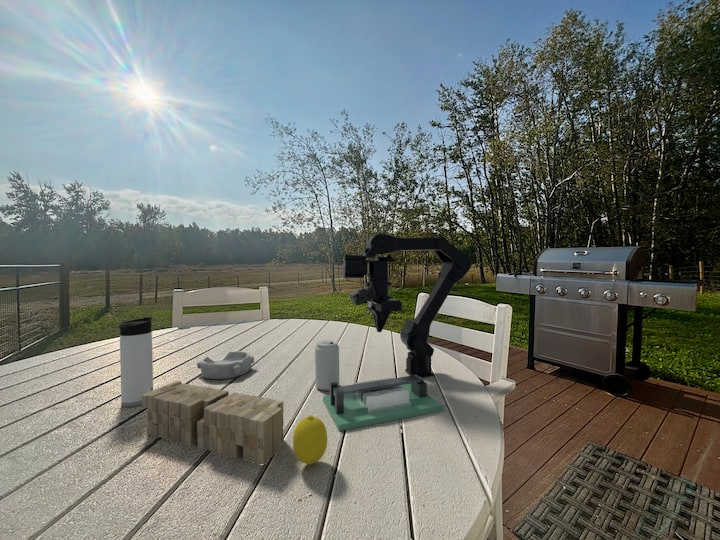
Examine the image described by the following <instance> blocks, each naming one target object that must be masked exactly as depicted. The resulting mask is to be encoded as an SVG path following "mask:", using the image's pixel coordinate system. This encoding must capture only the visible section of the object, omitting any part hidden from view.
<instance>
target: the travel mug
mask: <svg viewBox="0 0 720 540" xmlns="http://www.w3.org/2000/svg"><path fill="white" fill-rule="evenodd" d="M152 321H153V319H152V316H151V317H150V316H145V317H142V318H135V319H130V320H126V321H123V322H122V323H120V324H119V354H120V355H119V356H120V357H119V358H120V359H119V362H120V366H119V367H120V397H121V399H120V403H121V406H122V407H124V408H134V407H139V406H142V395H143V394H146V393H148V392H151V391H153V390H154V374H153V373H154V372H153V371H154V368H153V366H154V365H153V363H154V362H153V358H154V357H153V330H152V326H153V325H152Z"/></svg>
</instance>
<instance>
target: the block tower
mask: <svg viewBox="0 0 720 540" xmlns="http://www.w3.org/2000/svg"><path fill="white" fill-rule="evenodd" d="M229 392H230V391H229V390H226V389H225V390H224V389H223V390H222V389H219V388H218V389H217V388H213V387H211V386H201V385H194V384H188V383H183V382H182V381H180V380H175V381H173V382H170V383H168V384H166V385H163V386H161V387H158V388H156V389H153V391H151V392H148V393H146V394H143V395H142V405H141V407H142V408H144V409H147V413H146V417H147V419H146V421H147V422H146V434H148V435H151V436H152V437H155V438H160V439H164V440H167V441H168V440H169V441H173V442H177V443H181V444H184V445H186V446H189V447H192V446H193V445H195V444H196V443H197V448H198V449H202V450H207V451H210V452H213V453H217V452H218V454H220V453H222V454H221V455H223V454H225V455H224V456H227V455H229V456H228V457H230V456H232V457H231V458H233V457H236V456H238V455H239V454H240V455H241V454H242V460H243V459H244V460H246V461H245V462H248V461H251V462H250V463H252V462H254V463H253V464H256V463H257V464H265V463H266V462H267V461H268V460H269V461H271V460H270V458H272V459H273V456H272V455H275V454H276V453H277V452H278V451H279V452H280V451H281V450H282V449H281V448H282V445H283V443H282V441H284V408H285V407H284V401H283V400H279V399H277V400H276V399H273V398H270V397H263V396H257V395H251V394H245V393H239V392H233V393H231V394H230V393H229ZM280 449H281V450H280ZM242 452H243V453H242ZM279 452H278V453H279ZM278 453H277V454H278ZM277 454H276V455H277ZM240 455H239V456H240ZM276 455H275V456H276ZM239 456H238V457H239ZM236 458H237V457H236ZM244 460H243V461H244ZM269 461H268V462H269ZM268 462H267V463H268ZM267 463H266V464H267ZM257 464H256V465H257ZM266 464H265V465H266Z"/></svg>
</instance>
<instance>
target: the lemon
mask: <svg viewBox="0 0 720 540" xmlns="http://www.w3.org/2000/svg"><path fill="white" fill-rule="evenodd" d="M292 446H293V447H292V448H293V452H294V454H295V456H296V458H297V459H298V460H299V461H300V462H301V463H303V464H306V465H309V466H312V465H313V464H315V463H317V462H319V461H320V460H321V459H322V458H323V456H324V455H325V453H326V451H327V447H328V432H327V429H326V426H325V424H324V422H323V421H322V420H321V419H320V418H318V417H317V416H313V415H311V414H309V415H308V416H305V417H304V418H302V419H301V420H299V422H298V423H297V425H296V426H295V430H294V431H293V436H292Z"/></svg>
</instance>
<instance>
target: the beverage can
mask: <svg viewBox="0 0 720 540" xmlns="http://www.w3.org/2000/svg"><path fill="white" fill-rule="evenodd" d="M314 366H315V367H314V371H315V374H314V375H315V387H316V388H317V389H318V390H320V391H325V392H326V391H329V392H330V383H334V382H337V383H338V387H340V384H341V383H340V347H339V344H338V341H336V340H332V339H331V340H330V339H327V340H319V341H317V342H316V343H315V346H314Z"/></svg>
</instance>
